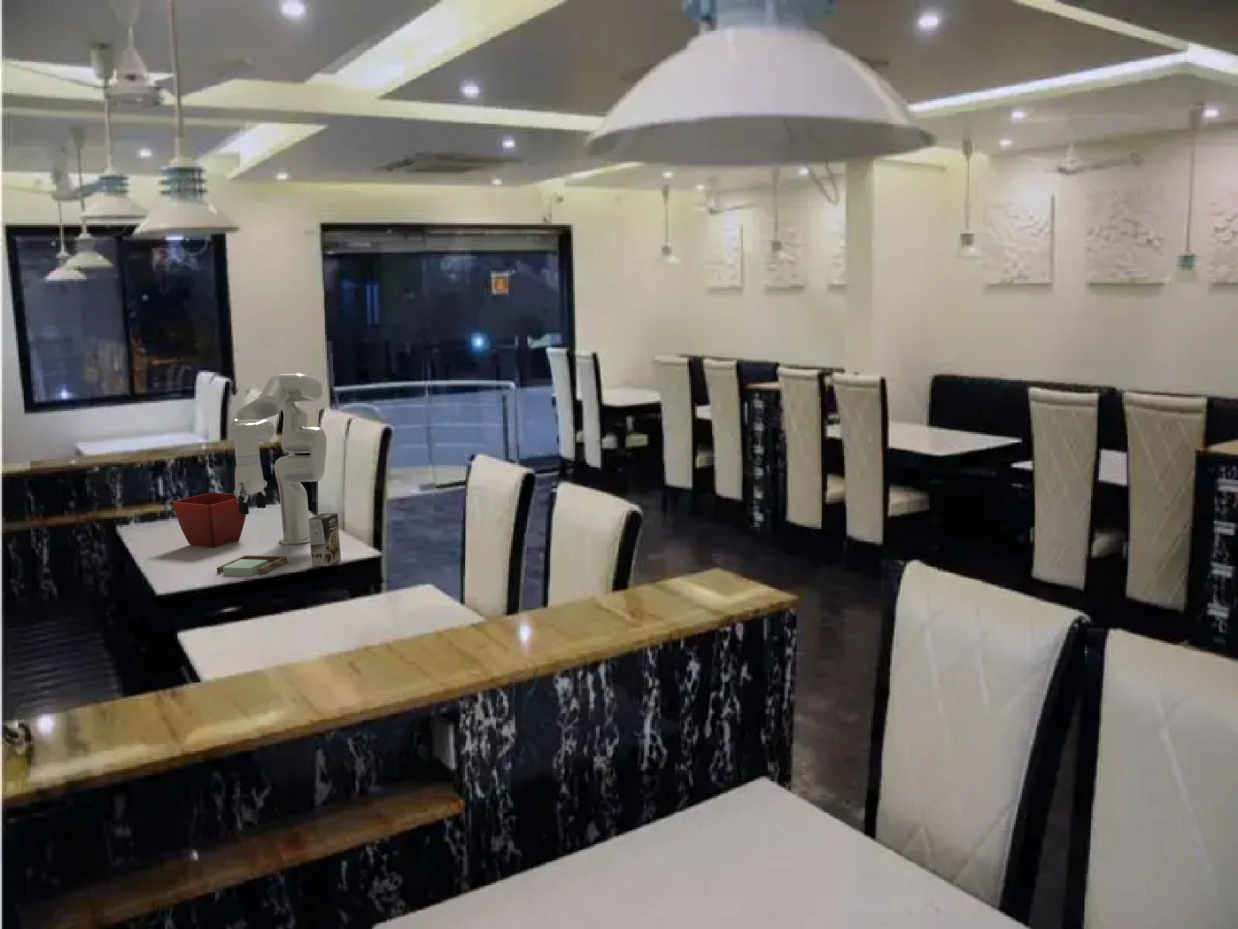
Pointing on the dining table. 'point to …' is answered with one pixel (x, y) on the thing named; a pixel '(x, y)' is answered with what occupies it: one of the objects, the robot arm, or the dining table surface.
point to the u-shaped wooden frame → (274, 559)
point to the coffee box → (324, 539)
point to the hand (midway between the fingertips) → (252, 510)
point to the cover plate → (244, 567)
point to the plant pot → (210, 519)
